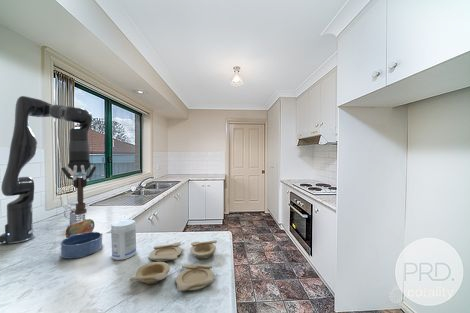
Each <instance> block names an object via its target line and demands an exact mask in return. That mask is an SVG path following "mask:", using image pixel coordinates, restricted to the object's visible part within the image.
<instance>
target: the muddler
mask: <svg viewBox="0 0 470 313" xmlns="http://www.w3.org/2000/svg"><path fill="white" fill-rule="evenodd" d="M77 195H78V202H77V203H76V205H75V208H74V209H75V213H74V214H84V213H85V214H87V212H88V208H87V207H86V201H84V188H83V176H77V188H76V196H77Z"/></svg>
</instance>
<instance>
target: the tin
mask: <svg viewBox="0 0 470 313" xmlns="http://www.w3.org/2000/svg"><path fill="white" fill-rule="evenodd" d="M81 220H82V221H79V222H77V223H74V224H71V225H70V224H69V225H70V226H69V225H68V226H69V227H68V226H67V227H66V229H65V233H64V234H65V239H66V238H68V237H70V236H73V235H77V234H81V233H87V232H94V229H95V221H94V219H91V218H88V219H87V218H85V220H83V219H81Z"/></svg>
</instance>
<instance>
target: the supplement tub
mask: <svg viewBox="0 0 470 313" xmlns="http://www.w3.org/2000/svg"><path fill="white" fill-rule="evenodd" d="M110 226H111V228H110V237H111V258H112V259H113V260H115V261H120V260H126V259H129V258H131V257H133V256H134V255H136V253H137V227H136V221H135V220H134V219H130V218H129V219H121V220H116V221H114V222H113V223H112V224H110Z"/></svg>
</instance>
